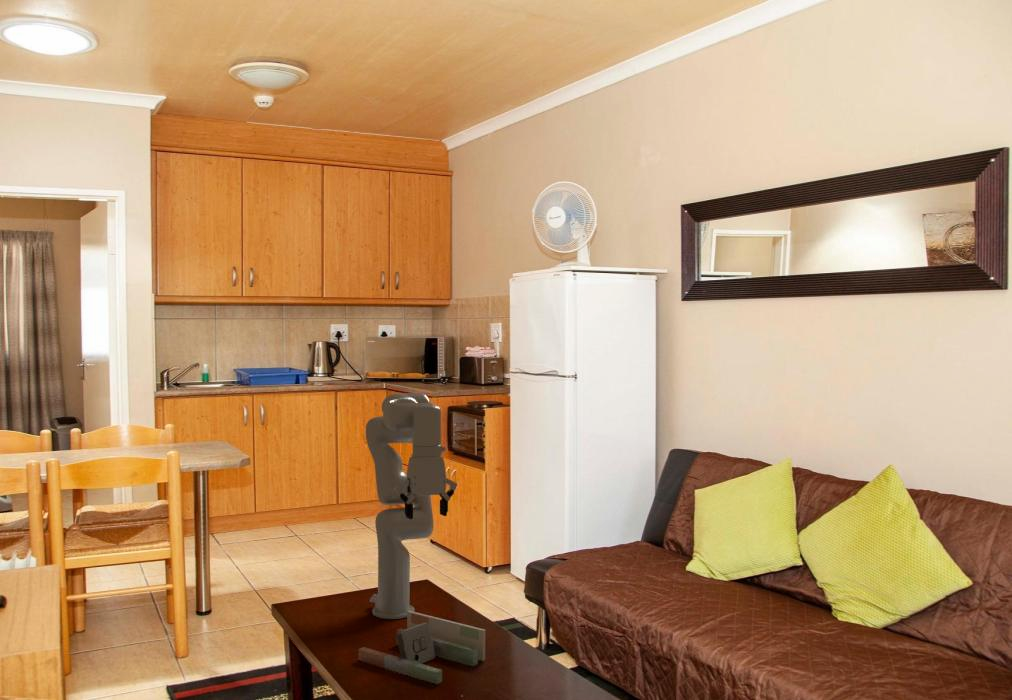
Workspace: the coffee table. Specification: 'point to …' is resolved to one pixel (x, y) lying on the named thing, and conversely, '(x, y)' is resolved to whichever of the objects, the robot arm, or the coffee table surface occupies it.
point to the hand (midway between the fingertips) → (426, 516)
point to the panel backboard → (451, 631)
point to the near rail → (400, 665)
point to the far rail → (453, 651)
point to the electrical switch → (416, 644)
